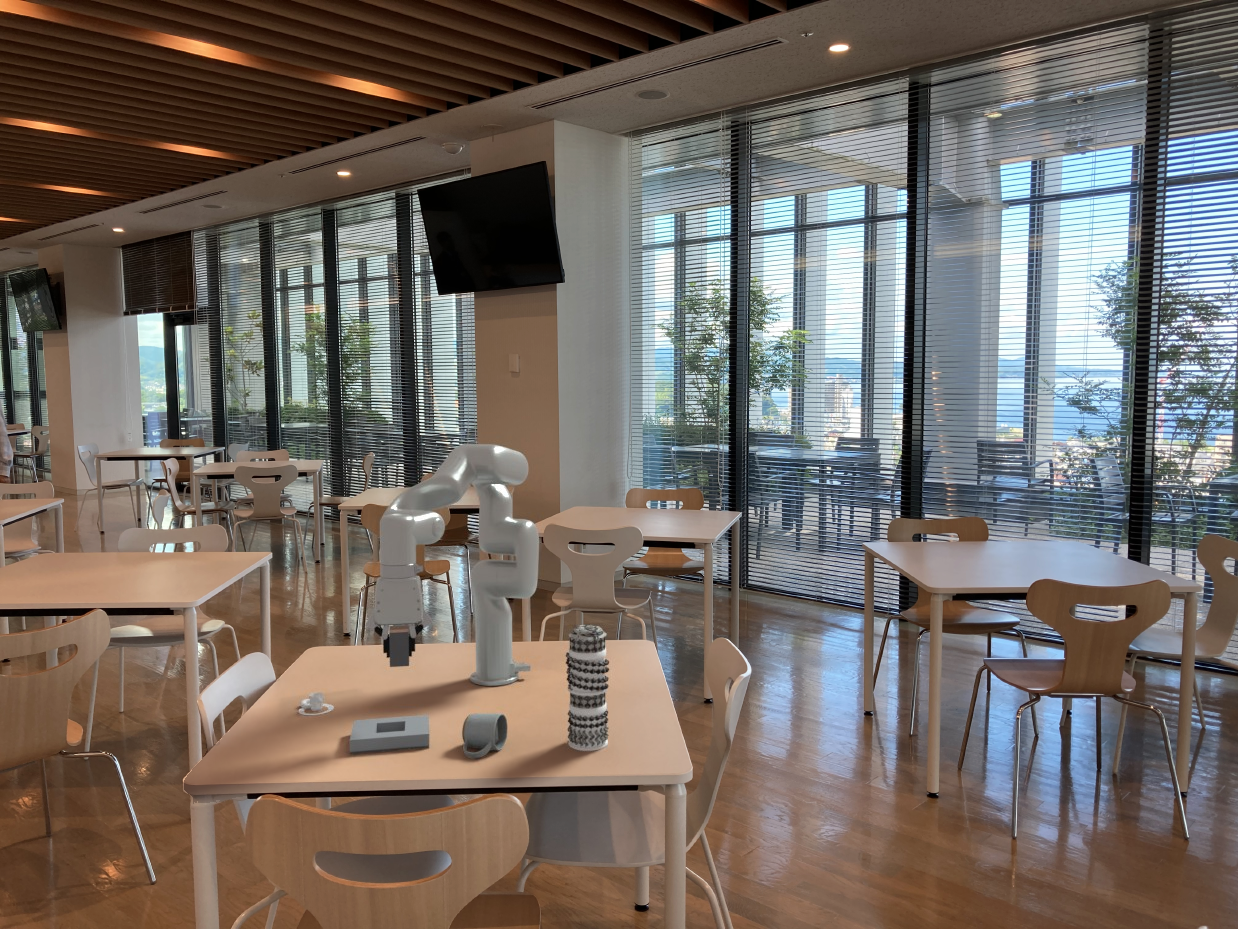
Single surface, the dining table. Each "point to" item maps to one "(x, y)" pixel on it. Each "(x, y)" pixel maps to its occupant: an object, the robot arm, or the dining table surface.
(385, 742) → the outlet box
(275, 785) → the dining table surface
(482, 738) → the ceramic mug
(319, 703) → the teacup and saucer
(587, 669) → the decorative candle
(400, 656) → the charger
